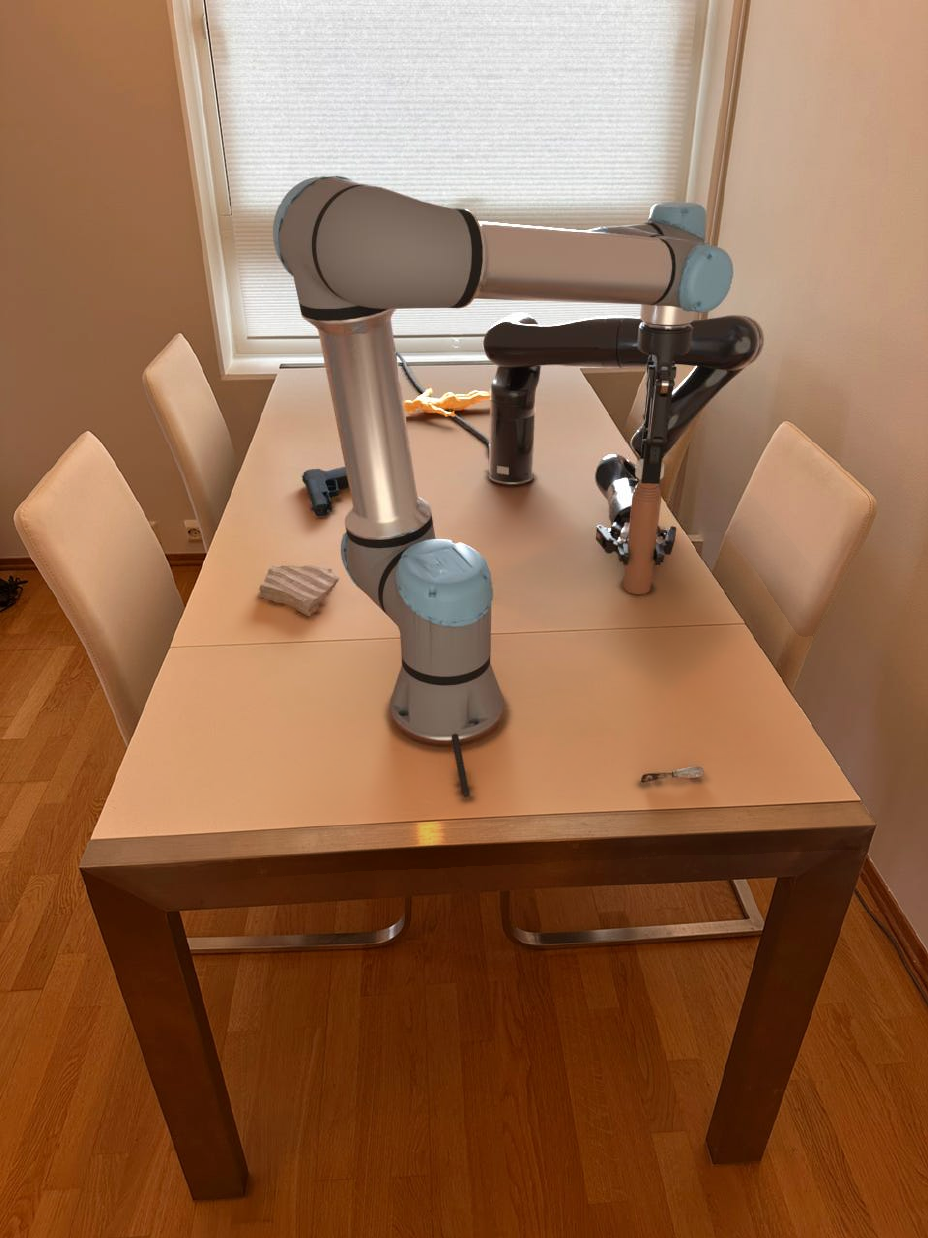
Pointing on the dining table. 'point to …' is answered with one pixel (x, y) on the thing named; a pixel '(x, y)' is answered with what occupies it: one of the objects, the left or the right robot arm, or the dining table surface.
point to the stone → (298, 586)
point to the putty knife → (674, 774)
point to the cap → (640, 467)
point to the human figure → (445, 402)
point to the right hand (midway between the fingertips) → (642, 560)
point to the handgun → (324, 487)
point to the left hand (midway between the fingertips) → (649, 476)
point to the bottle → (642, 537)
